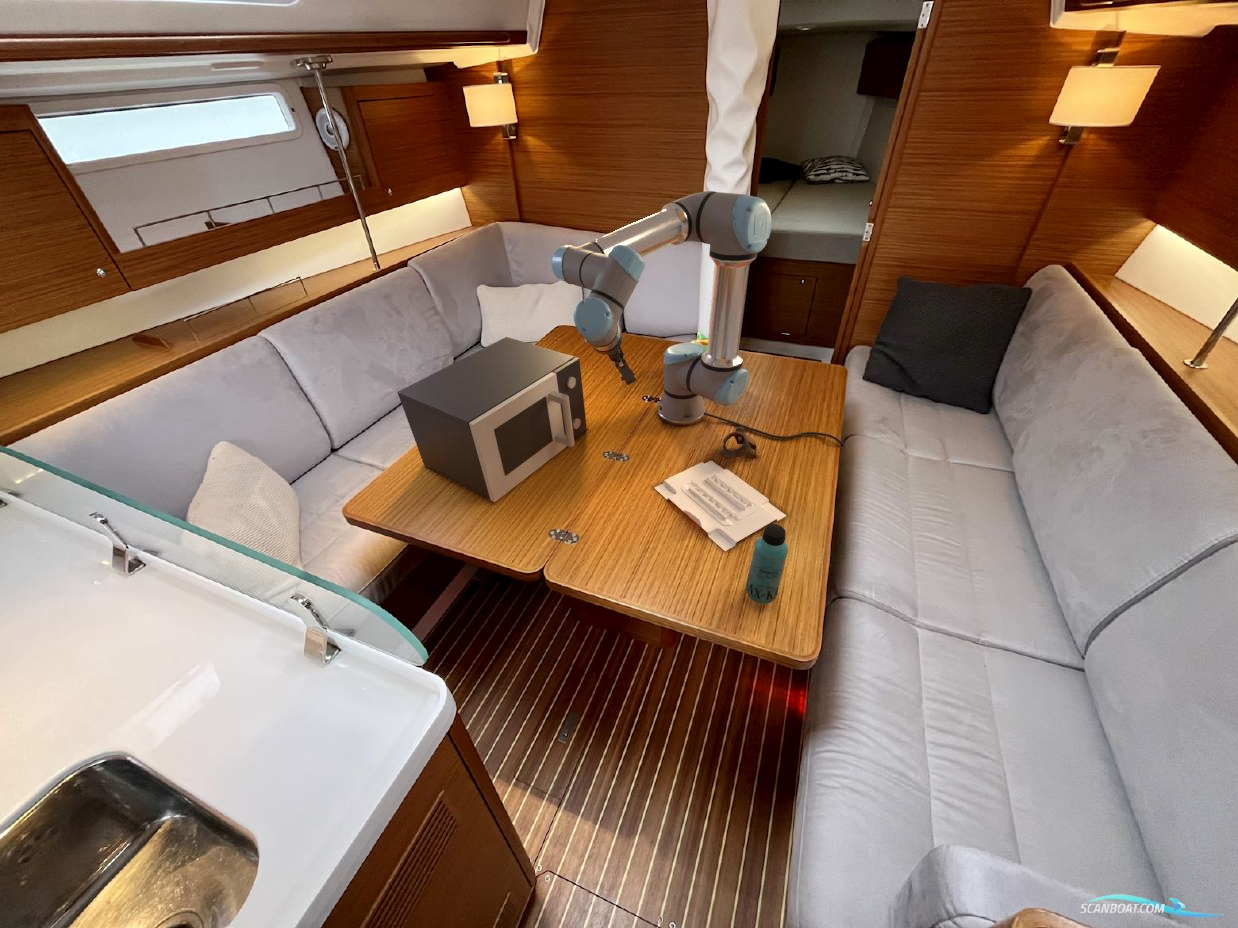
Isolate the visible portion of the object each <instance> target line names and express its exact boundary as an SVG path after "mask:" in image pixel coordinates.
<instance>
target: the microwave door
mask: <svg viewBox="0 0 1238 928" xmlns="http://www.w3.org/2000/svg"><path fill="white" fill-rule="evenodd" d="M560 404H562V407H563V414H564V422H565V429H566V435H565V434H564V426H563V419H562V412H561V405H560ZM469 425H470V429H471V432H472V436H473V440H474V443H475V447H476V450H477V454H478V457H479V461H480V465H481V468H482V472H483V475H484V479H485V482H486V486H487V490H488V493H489V497H490V500H489V501H491V502H493V503H496V502H497V501H499V500H500V499H501V498H502V497H504V496H505V495H506V494H508V492H510V491H511V490H512V489H514V488H515V487H516V486H517V485H519V484H521V483H522V482H523V481H524V480H526V479H527V478H528V477H530V476H531V475H532V474H534V472H536V471H538V469H540V468H541V467H542V466H543V465H545V464H546V463H547V462H549V461H551V459H552V458H554V457H555V456H556V455H558V454H559V453H560V452H562V451H563V450H564V449H566V447H569V448H572V447H575V439H574V435H573V428H572V420H571V412H570V404H569V396H568V395H565V394H562V393H559V391H558V384H557V377H556V373H553V372H551V373H549V374H548V375H546V376H545V377H543V378H541V379H540V380H538V381H536V382H535V383H533V384H532V385H530V386H528V387H527V388H525V389H523V390H522V391H520V392H519V393H517V394H515V395H514V396H512V397H510V398H509V399H507V400H505V401H504V402H502V403H501V404H499V405H497V406H496V407H494V408H492V409H491V410H489V411H488V412H486V413H484V414H483V415H481V416H479V417H478V418H476V419H475V420H473V421H471V422H470V423H469Z"/></svg>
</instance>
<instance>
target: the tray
mask: <svg viewBox="0 0 1238 928" xmlns="http://www.w3.org/2000/svg"><path fill="white" fill-rule="evenodd" d="M654 489H655V490H656V492H658V493H659V494H660V495H661V496H662V497H663V498H664V499H666V500H670V501H671V502H672V503H673V504H675V506H677V507H678V508H679V509H680V510H681V511H682V512H683V513H684V514H686V515H687V516H688V517H689V518H690V519H691V520H692V521H693V522H695V523H696V524H697V525H698V526H699V527H700V528H701V529H702V530H704V531H705V532H706V533H707V537H708V538H709V539H710V540H711V541H713V542H714V543H715V544H716V545H717V546H718V547H720V549H721V550H723V551H724V552H727V551H728V550H730V549H732V548H734V547H735V546H736V544H737V542H739V541H741V540H743V539H745V538H747V537H748V536H750V535H751V534H753V533H755V532H757V531H759V530H761V529H762V528H765V527H766V526H767V525H769V524H772V523H773V522H774V521H777V522H778V521H781V520H782V519H783V518H786V517H787V515H786V514H785V513H784V512H782V511H781V510H780V509H778V508H777V507H776V506H774V505H773V504H771V503H770V499H769V498H768V497H767V496H765V495H764V494H762V493H761V492H760V491H758V490H757V489H755V488H754V487H753V486H752V485H750V484H748V483H747V482H745V481H744V480H743V479H741V478H740V477H739V476H737V475H736V474H735V473H733V472H732V471H731V470H729V469H728V468H725V469H724V468H723V467H721V465H718V464H717V463H716V462H714V461H713V460H709V461H707V462H705V463H704V462H703V461H702V462H700V463H697V464H696V465H693V466H691V467H689V468H687V469H685V470H683V471H681V472H679V473H676V474H674V475H672V476H670V477H668V478H666V479H664V480H663V483H661V484H659V485H656V486H654Z"/></svg>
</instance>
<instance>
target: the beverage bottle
mask: <svg viewBox="0 0 1238 928" xmlns="http://www.w3.org/2000/svg"><path fill="white" fill-rule="evenodd" d="M786 534H787V531H786V529H785V528H784V526H782V525H780V524H778V523H769V524H767V525H765V526H764V528H763V532H762V535H761V536H759V537H757V539H756V540H755V542H754V547H753V552H752V557H751V561H750V562H749V563H750V564H749V565H750V566H749V570H748V573H747V579H746V585H745V591H746V595H747V596H748V598H749V599H750V600H751V601H752V602H753V603H757V604H759V605H769V604H772V603H773V602H774V601H775V600H776V599H777V597H778V594H779V590H780V586H781V582H782V578H783V573H784V570H785V565H786V560H787V556H788V553H789V545H788V544H787V542H786Z"/></svg>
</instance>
